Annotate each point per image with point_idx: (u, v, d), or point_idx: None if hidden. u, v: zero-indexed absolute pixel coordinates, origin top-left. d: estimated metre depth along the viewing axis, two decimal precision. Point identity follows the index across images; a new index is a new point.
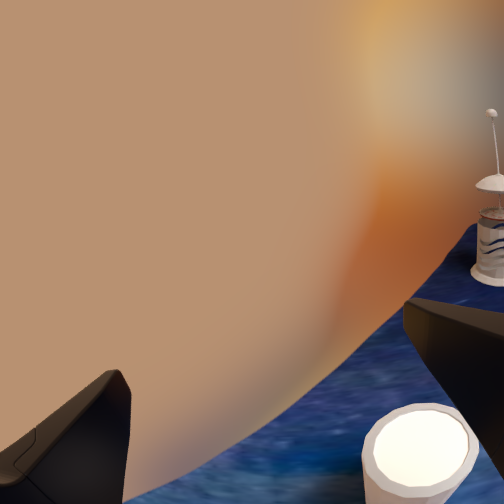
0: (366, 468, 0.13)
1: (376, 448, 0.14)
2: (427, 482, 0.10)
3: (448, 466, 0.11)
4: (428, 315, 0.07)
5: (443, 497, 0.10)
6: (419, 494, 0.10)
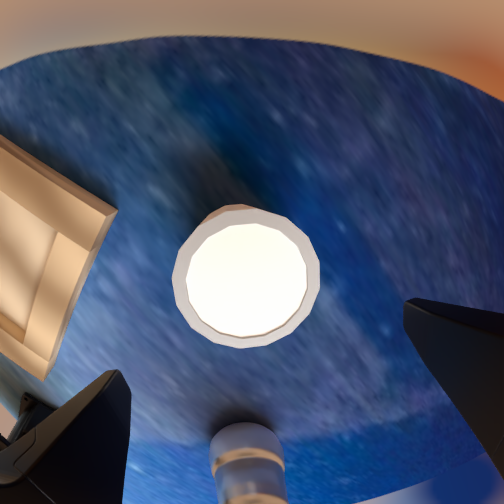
0: (184, 245, 0.14)
1: (215, 236, 0.14)
2: (204, 316, 0.15)
3: (234, 325, 0.15)
4: (428, 315, 0.07)
5: None
6: (187, 316, 0.14)
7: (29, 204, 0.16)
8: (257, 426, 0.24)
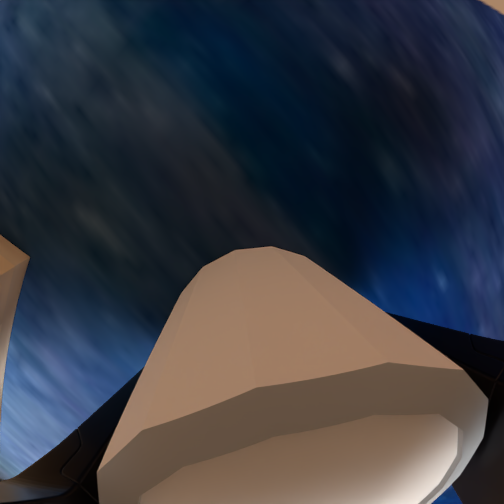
0: (109, 467, 0.03)
1: (216, 459, 0.03)
2: None
3: None
4: None
5: None
6: None
7: None
8: None
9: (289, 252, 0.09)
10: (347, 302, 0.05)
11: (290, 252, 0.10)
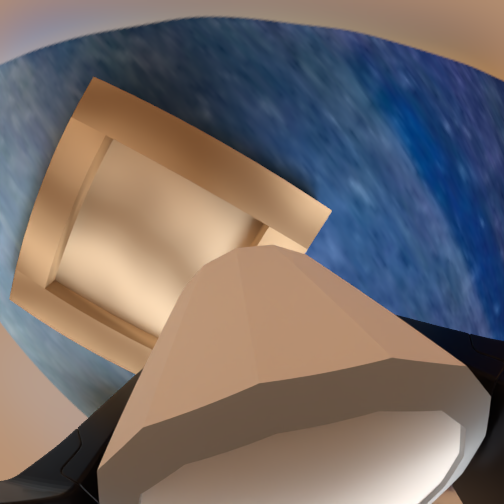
0: (109, 465, 0.03)
1: (218, 457, 0.03)
2: None
3: None
4: None
5: None
6: None
7: (227, 192, 0.16)
8: None
9: (290, 250, 0.09)
10: (349, 299, 0.05)
11: (291, 250, 0.09)
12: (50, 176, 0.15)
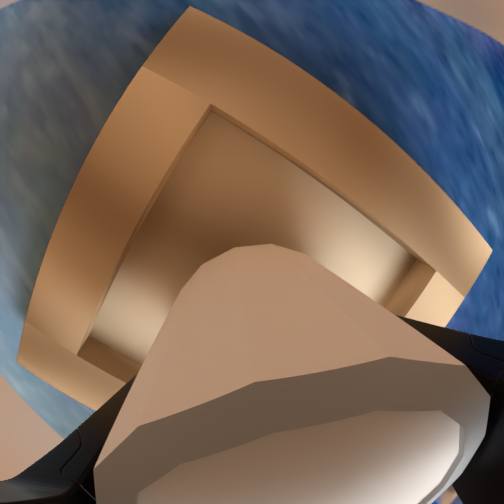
0: (105, 464, 0.03)
1: (214, 456, 0.03)
2: None
3: None
4: None
5: None
6: None
7: (399, 222, 0.10)
8: None
9: (289, 249, 0.09)
10: (347, 298, 0.05)
11: (290, 249, 0.09)
12: (92, 169, 0.09)
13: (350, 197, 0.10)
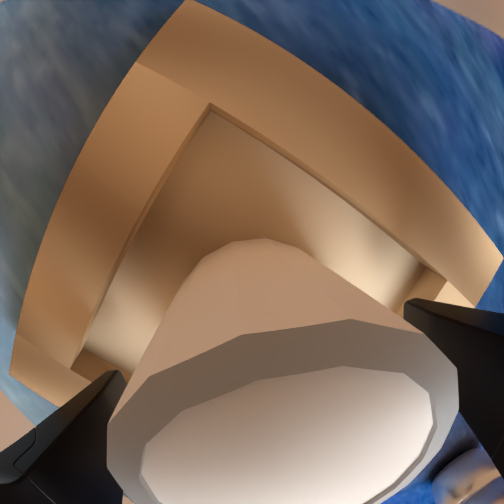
0: (119, 417, 0.04)
1: (210, 404, 0.04)
2: None
3: None
4: (428, 315, 0.07)
5: None
6: None
7: (410, 230, 0.09)
8: (482, 450, 0.17)
9: (282, 243, 0.10)
10: (327, 280, 0.06)
11: (283, 243, 0.10)
12: (82, 173, 0.08)
13: (360, 204, 0.09)
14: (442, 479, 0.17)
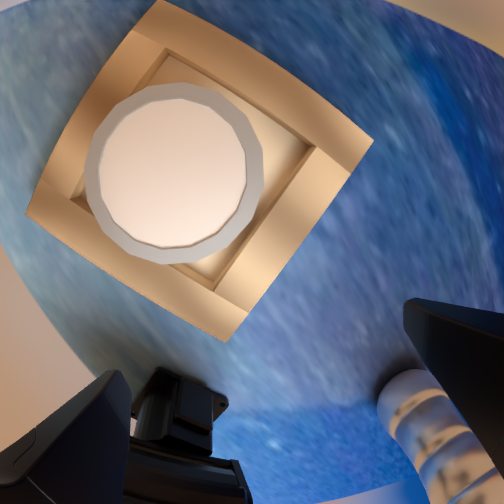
0: (99, 127, 0.10)
1: (134, 114, 0.10)
2: (118, 216, 0.11)
3: (152, 230, 0.11)
4: (428, 315, 0.07)
5: None
6: (99, 217, 0.11)
7: (280, 109, 0.16)
8: None
9: None
10: None
11: None
12: (99, 81, 0.14)
13: (243, 93, 0.15)
14: (384, 393, 0.23)
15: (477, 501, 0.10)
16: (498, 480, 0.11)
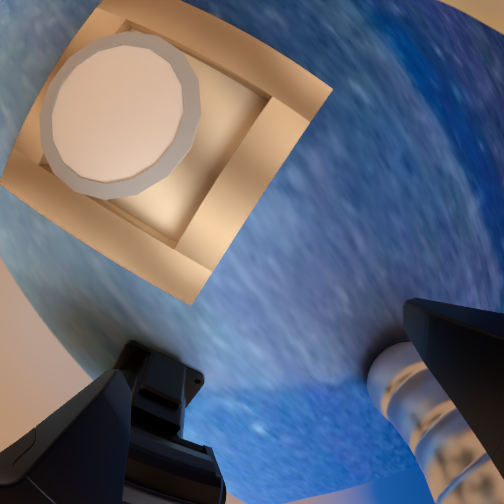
0: (54, 78, 0.09)
1: (83, 63, 0.09)
2: (66, 155, 0.10)
3: (96, 165, 0.11)
4: (428, 315, 0.07)
5: None
6: (50, 158, 0.10)
7: (233, 64, 0.15)
8: None
9: None
10: None
11: None
12: (67, 54, 0.13)
13: (198, 52, 0.15)
14: (373, 369, 0.22)
15: (483, 483, 0.09)
16: None
